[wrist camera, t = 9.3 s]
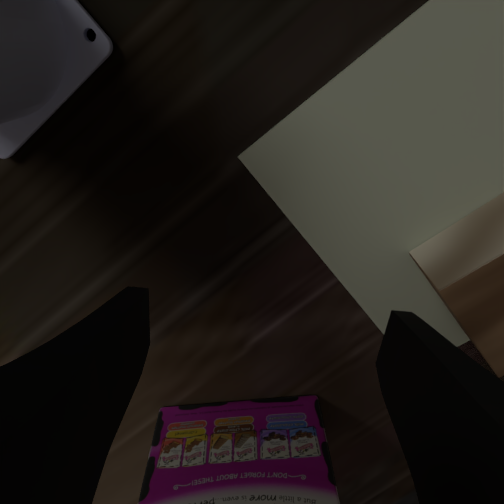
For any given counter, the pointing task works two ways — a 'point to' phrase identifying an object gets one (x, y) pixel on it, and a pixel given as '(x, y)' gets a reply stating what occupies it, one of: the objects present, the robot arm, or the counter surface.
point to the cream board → (395, 155)
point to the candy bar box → (241, 454)
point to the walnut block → (471, 276)
